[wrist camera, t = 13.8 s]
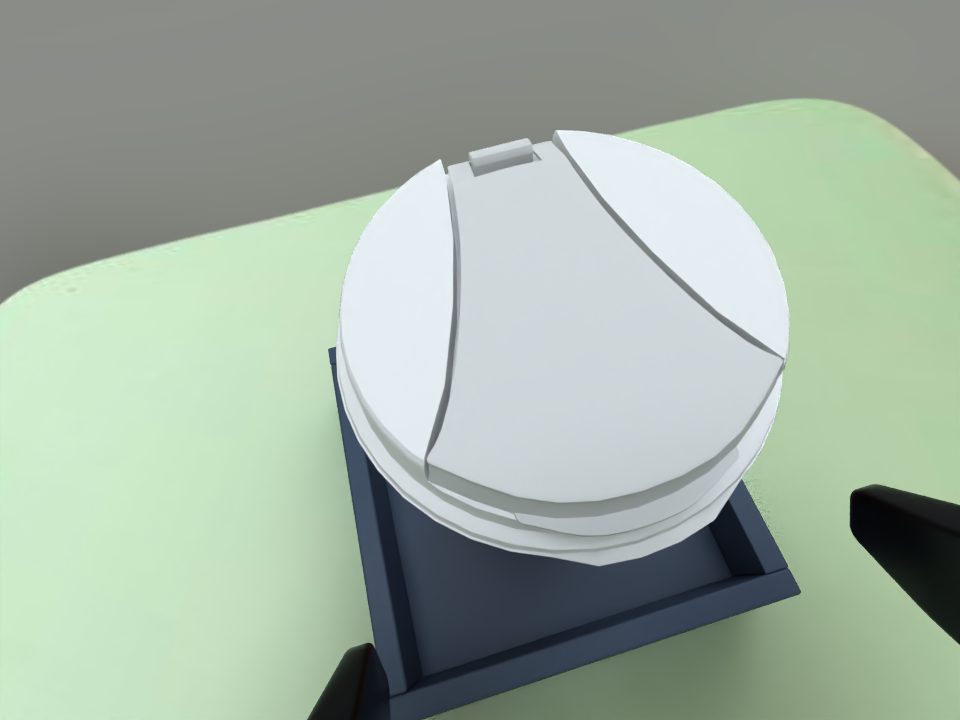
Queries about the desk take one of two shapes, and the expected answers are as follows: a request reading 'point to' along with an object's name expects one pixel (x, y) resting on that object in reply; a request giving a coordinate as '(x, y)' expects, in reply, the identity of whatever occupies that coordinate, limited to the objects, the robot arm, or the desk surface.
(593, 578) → the open square box
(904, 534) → the robot arm
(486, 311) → the paper cup
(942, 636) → the desk surface
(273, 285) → the desk surface
